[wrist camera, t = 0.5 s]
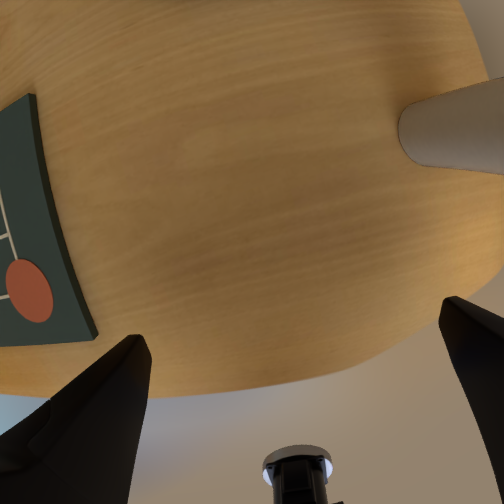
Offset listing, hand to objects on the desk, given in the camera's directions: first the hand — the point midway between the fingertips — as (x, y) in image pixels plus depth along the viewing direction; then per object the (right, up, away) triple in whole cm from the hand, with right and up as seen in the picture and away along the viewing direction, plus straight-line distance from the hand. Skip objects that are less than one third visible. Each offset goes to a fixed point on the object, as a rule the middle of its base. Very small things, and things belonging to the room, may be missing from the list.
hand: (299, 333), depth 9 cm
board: (-30, +2, +13) cm, 33 cm away
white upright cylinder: (+11, +10, +10) cm, 18 cm away
